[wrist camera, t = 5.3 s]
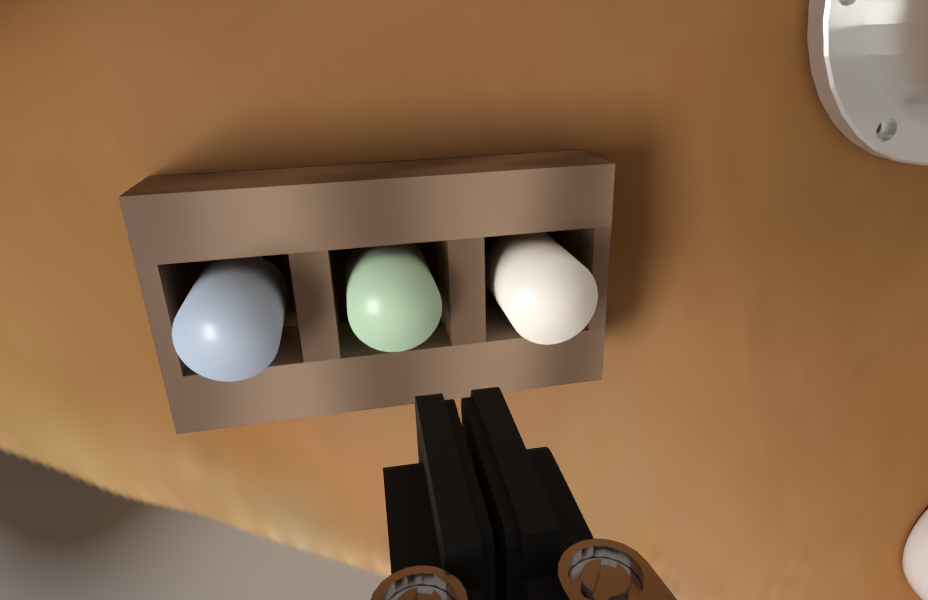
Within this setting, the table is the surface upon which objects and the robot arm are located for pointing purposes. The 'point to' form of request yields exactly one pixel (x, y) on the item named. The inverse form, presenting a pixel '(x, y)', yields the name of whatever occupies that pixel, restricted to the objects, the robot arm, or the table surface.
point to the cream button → (540, 287)
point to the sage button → (391, 297)
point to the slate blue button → (232, 319)
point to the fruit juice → (917, 557)
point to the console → (367, 225)
